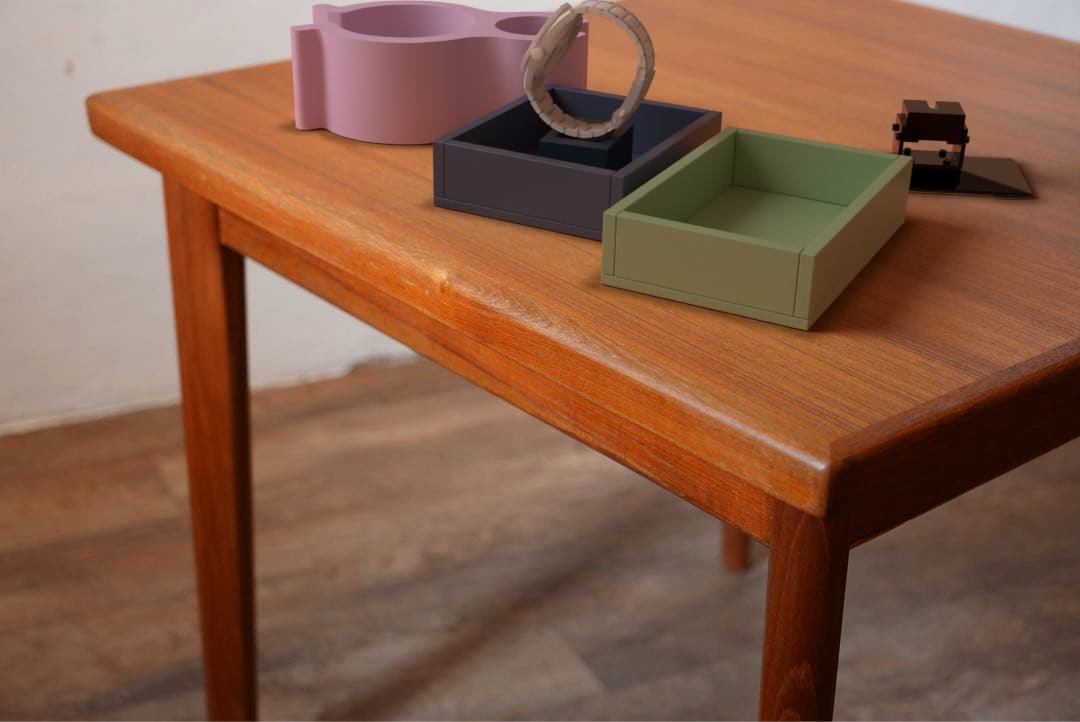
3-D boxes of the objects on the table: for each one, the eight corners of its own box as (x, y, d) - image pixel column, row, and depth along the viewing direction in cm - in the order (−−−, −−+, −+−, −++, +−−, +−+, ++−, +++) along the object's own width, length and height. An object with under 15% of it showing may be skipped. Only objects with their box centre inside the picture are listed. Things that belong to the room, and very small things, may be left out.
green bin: (904, 222, 86) (913, 156, 84) (807, 331, 72) (815, 255, 70) (723, 188, 91) (728, 125, 89) (600, 283, 77) (602, 212, 75)
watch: (538, 159, 94) (541, -12, 89) (658, 174, 91) (667, -1, 86) (507, 186, 89) (508, 7, 84) (632, 203, 87) (641, 20, 82)
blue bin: (718, 173, 94) (722, 111, 92) (620, 245, 82) (623, 177, 80) (547, 141, 99) (548, 82, 97) (433, 205, 87) (432, 140, 86)
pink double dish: (589, 100, 108) (592, 7, 105) (578, 152, 97) (581, 50, 94) (326, 88, 109) (321, -4, 106) (285, 139, 98) (279, 38, 95)
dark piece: (1011, 164, 97) (1024, 96, 94) (1032, 202, 90) (1046, 130, 88) (824, 152, 98) (832, 85, 96) (831, 189, 91) (840, 118, 89)
